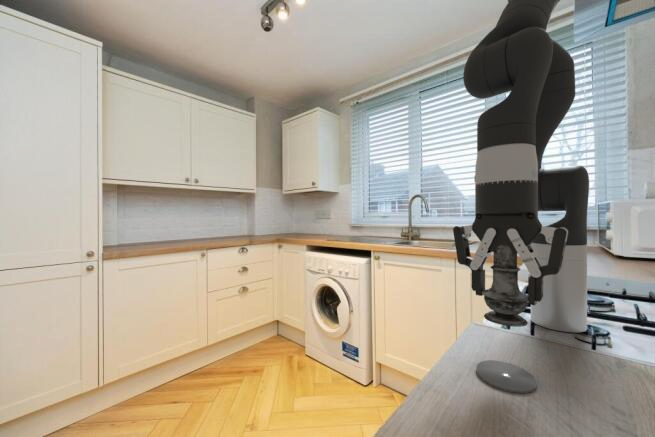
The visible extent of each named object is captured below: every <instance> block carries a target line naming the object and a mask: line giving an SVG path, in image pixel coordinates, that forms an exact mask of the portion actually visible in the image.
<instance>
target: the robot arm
mask: <svg viewBox="0 0 655 437" xmlns="http://www.w3.org/2000/svg"><path fill="white" fill-rule="evenodd" d="M559 2H561V0H507V4H506V6H505V7H504V8H503V10H502V12H501V14H500V16H499V18H498V21H497V23H496V25H495V27H494V28H493V29H492V30H490V31H489V32H488V33H487V35H485V37H484V38H483V39H482V40H481V41H480V42H479V43H477V45H476V46H475V47H474V48H473V50H472V51H471V53H470V54H469V55H468V58H467V60H466V62H465V66H464V69H463V73H462V74H463V75H462V76H463V77H462V78H463V85H464V87H465V90H466V92H467V93H468V94H469V95H470V96H472V97H473V98H476V99H482V100H483V99H489V98H492V97H496V96H498V95H502V94H505V93H508V92H509V94H508V95H507V97H506V98H504V99H503V100H502V101H501V102H499V103H498V104H495V105H494V106H491V107H490V108H488V109H486V110H485V111H484V112H482V113H481V114H480V116H479V118H478V119H477V124H476V125H477V127H476V136H477V137H476V140H477V141H476V153H477V154H476V161H475V171H474V172H475V174H474V183H475V185H474V186H475V187H474V188H475V191H474V192H475V193H474V194H475V196H474V197H475V198H474V199H475V202H474V203H475V204H474V205H475V206H474V208H475V209H474V210H475V211H474V212H475V214H474V215H475V216H474V220H473V222H472V224H470V225H456V226H454V227H453V228H452V232H453V239H454V245H455V246H454V247H455V252H456V259H457V263H458V264H460V265H463V266H466V267H468V268H469V269H470V270H471V271H470V272H471V290H472V291H473V292H475V295H476V296H479V297H480V296H481V297H482V296H484V295H483V294H482V291H483V290H486V269H484V265H485V264H486V262H487V260H488V258H489V257H490V256H491V254H493V253H494V252H495V249H496V247H497V246H499V245H506V246H508V247H510V249H511V250H512V253H514V254H517V255H518V256H519V258H520V259H521V261H522V262H523V263H524V264H523V265H525V267H526V269H527V271H528V272H529V276H528V277H527V278H528V280H527V281H528V282H527V285H528V286H527V289H528V290H527V291H528V292H527V295H528V305H530V321H531V322H532V323H534V324H536V325H538V326H540V327H543V328H546V329H550V330H554V331H558V332H565V333H577V334H578V333H583V332H587V330H588V205H589V195H590V179H589V178H590V177H589V172H588V171H587V169H586V167H584V166H583V165H579V164H578V165H566V166H556V167H548V168H542V163H543V162H542V160H543V155H544V152H545V150H546V147H547V146H548V144H549V142H550V140H551V138H552V137H553V134H554V133H555V131H556V129H558V127H559V125H560V124H561V123H562V121H563V120H564V119H565V117H566V115H567V114H568V112H569V110H570V108H571V106H572V105H573V104H574V100H575V98H576V73H575V72H576V71H575V62H574V59H573V57H572V55H571V54H570V53H569V51H567V50H566V49H565V48H564V47H563V46H562V45H561V44H560V43H559V42H557V41H556V40H555V39H554V38H553V37H551V35H550V34H549V33H548V32H547V29H548V27H549V24H550V20H551V18H552V16H553V12H554V10H555V8H557V5H558V4H559ZM539 212H565V214H564V216H563V217H562V218H561V219H560V220H557V221H556V222H553V223H552V224H551V223H550V224H549V225H548V224H547V225H544V226H543V225H542V223H541V221H540V219H539V214H538V213H539ZM472 233H474V235H475V236H476V237H477V238H478V240H479V241H480V243H479V245H478V247H477V249H476V251H475V253H474V254H475V255H474V256H473V257H472V256H471V250H470V249H471V248H470V242H469V239H471V238H472Z"/></svg>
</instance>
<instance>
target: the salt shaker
mask: <svg viewBox="0 0 655 437" xmlns="http://www.w3.org/2000/svg"><path fill="white" fill-rule="evenodd" d="M489 268H490V269H492V283H491V286H490V287H489V288H488V289H485V290H483V291H482V294H483V295H482V296H483V300H484V302H485V304H486V306H487V307H488V308H489V309H490V310H491V311H488V312H486V313H485V314H484V315H483V318H484V319H486V320H487V321H489V322H490V323H494V324H497V325H501V326H506V327H517V328H520V327H525V326H528V323H529V322H528V320H527V319H525V318H524V317H522V316H521V315H520V314H521V313H523V312H525V310H526V309H527V307H528V305H529V304H528V294H525V293H523V292H522V291H521V290H520V287H519V281H518V280H519V276H518V275H519V273H518V272H519V271H521V268H519V267H518V253H517V254H514V253H512V250H511V249H510V247H508V246H506V245H499V246H497V247H496V249H495V252H493V265H491V266H490V267H489Z"/></svg>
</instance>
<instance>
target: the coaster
mask: <svg viewBox="0 0 655 437" xmlns="http://www.w3.org/2000/svg"><path fill="white" fill-rule="evenodd" d="M476 374H477V377H479V378H480V379H481V380H482V381H483V382H485V383H486V384H488V385H490V386H492V387H494V388H497V389H499V390H502V391H504V392H505V391H506V392H510V393H514V394H515V393H516V394H528V393H531V392H534V391H535V390H536V389H537V380H536V377H535V376H534V375H533V374H532V373H531V372H530V371H528V370H527V369H525V368H523V367H520V366H518V365H516V364H513V363H510V362H506V361H501V360H496V359H495V360H493V359H490V360H489V359H487V360H482V361H480V362H478V363H477V364H476Z"/></svg>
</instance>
